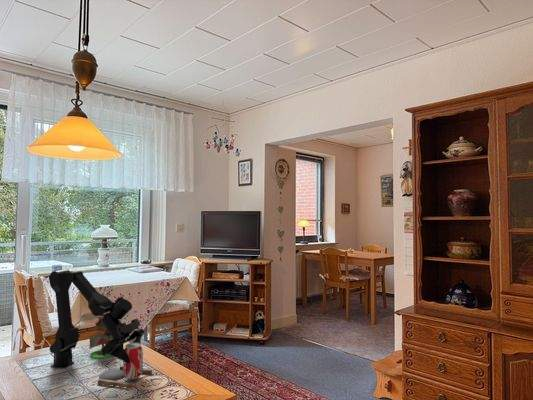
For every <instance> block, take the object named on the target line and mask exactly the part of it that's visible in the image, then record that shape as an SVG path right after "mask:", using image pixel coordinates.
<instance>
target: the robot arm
mask: <svg viewBox="0 0 533 400" xmlns="http://www.w3.org/2000/svg"><path fill="white" fill-rule="evenodd" d="M48 282H49V285H50V288H51V290H53V292H54V293H55V302H56V311H57V322H58V327H57V330H56V333H55V336H54V342H53V343H52V344H51V345H50V346H49V353H51V354H53V364H51V365H50V368H56V369H65V368H68V367H69V366H71V365H73V364H75V361H74V360H73V349H75V348H76V346H77V344H78V342H79V337H80V333H79V327H75V326H74V324H73V321H72V312H71V301H70V288H71V286H72V284H73V285H74V286H75V288H76V289H77V290H78V291H79V292H80V293H81V295H82V296H83V297H84V298H85V300H86V301H87V307H88V309H89V310H90V312H91V314H92V315H93V316H95V317H98V316H100V317H99V318H98V320H99V321H98V320H97V321H98V325H101V324H103V325H104V326H105V328H106V329H107V331H108V332H109V333H108V334H107V336H108V337H109V336H111V337H112V339H113V340H111V341H108V343H107V344H106V345H105V344H104V347H103V348H102V347H101V348H102V353H103V355H104V356H105V355H107V354H109V353H110V352H111V353H110V354H109V355H112V356H111V357H113V358H116V359H119V360H120V361H122V362H123V361H124V362H126V363H130V359H129V357H128V356H127V354H126V352H125V350H124V349H125V347H124V344H126V343H128V344H129V343H134V342H137V343H140V344H141V345H142V342H141V341H142V337H143V336H144V335H145V334H146V332H145V330H144V329H143V328H140V325H141V322H140V321H139V319H138V318H134V319H132V320H131V321H130V323H128V324H127V323H126V322H123V323H122V321H121V320H122V319H124V317H126V316H127V315H128V313H129V312H131V310H132V309H133V305H132V302H131V301H129V300H128V299H126V298H123V296H120V297H117V299H116V300H115V301H112V300H111V298H110V299H109V298H108V296H107V295H103V294H101V293H100V292H98V290H97V289H96V288H95V287H94V285H92V284H91V282H90V281H89V280H88V278H87V277H85V275H84V272H83V271H82V270H73V271H72V270H71V271H70V270H69V269H59V270H53V271H51V272H50V274H49V275H48ZM102 315H103V316H102Z"/></svg>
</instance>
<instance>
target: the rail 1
mask: <svg viewBox="0 0 533 400" xmlns="http://www.w3.org/2000/svg"><path fill="white" fill-rule="evenodd" d="M99 384H104V385H103V386H106V385H113V386H119V387H118V388H120V387H126V388H125V389H127V388H131V389H133V388H132V387H134V384H133V382H126V381H118V380H114V381H112V380H105V379H99V378H98V380H97V385H99ZM113 386H112V387H113Z"/></svg>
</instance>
